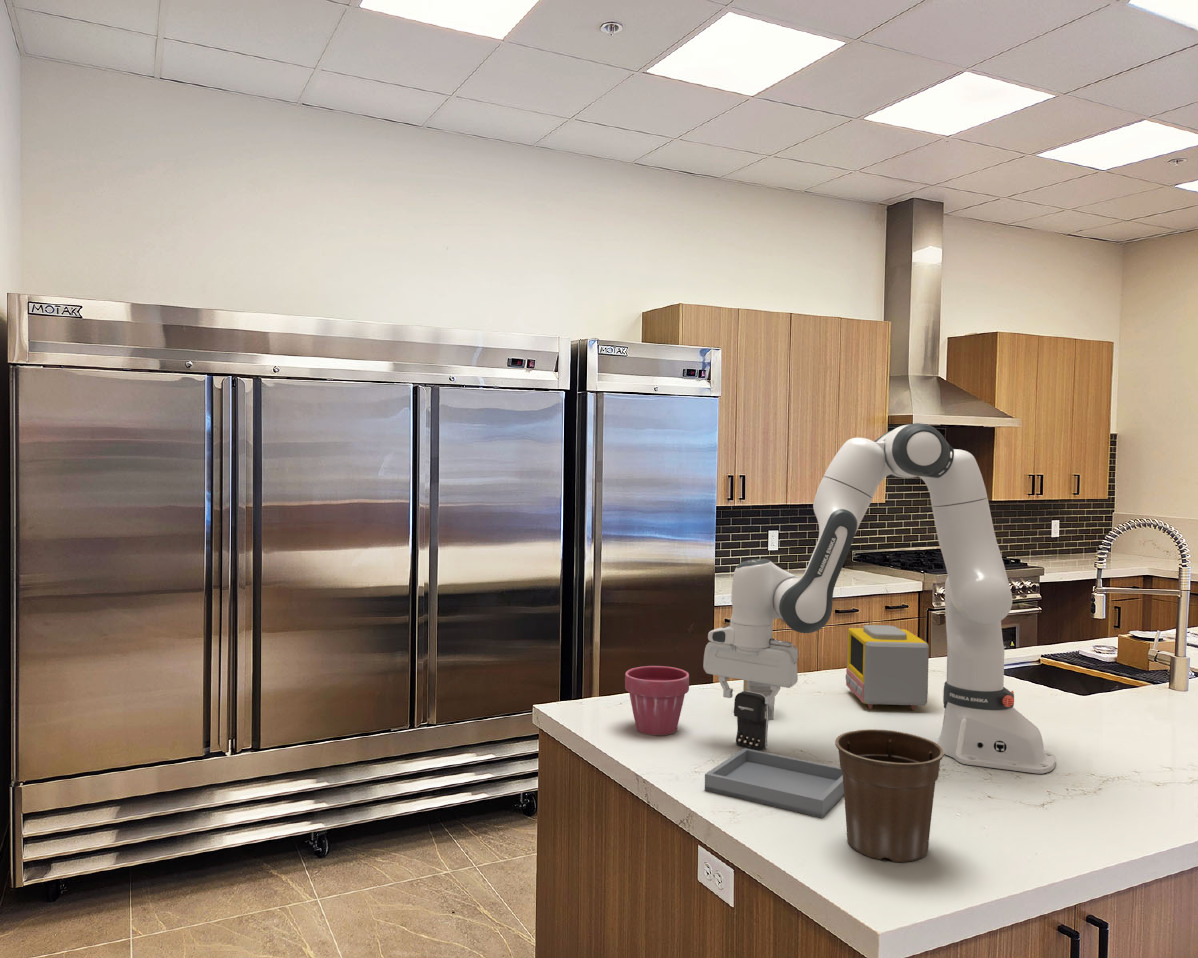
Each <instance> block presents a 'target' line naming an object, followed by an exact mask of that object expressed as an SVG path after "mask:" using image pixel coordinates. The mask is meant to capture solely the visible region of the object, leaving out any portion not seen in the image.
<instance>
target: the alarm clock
mask: <svg viewBox="0 0 1198 958" xmlns="http://www.w3.org/2000/svg"><path fill="white" fill-rule="evenodd" d="M929 646H930V645H929V644H928V642H927V641H924V640H923V639H922V638H920V637H918V636H917V635H916V634H914V633H912V632H911V631H910V630H907V629H906V628H905V629H904V628H898V627H897V626H895V625H885V624H884V625H883V624H882V625H881V624H865V625H864V626H863V627H849V628H848V629H847V645H846V647H847V648H846V669H845V670H846V672H845V673H846V674H845V686H847V688H848V689H849V690H850V691H851V692H852V693H853V694H854V695H855V696H856V697H857V698H858V699H859V701H860V702H861V703H862V704H866V705H867V707H868V709H870V710H871V709H873V706H874V705H892V706H893V705H894V706H896V705H897V706H910V709H911V710H912V711H916V707H917V706H926V705H927V704H928V699H929V698H928V696H929V693H928V692H929V690H928V689H929V656H930V655H929V654H930V653H929V650H930V647H929Z"/></svg>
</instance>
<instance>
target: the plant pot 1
mask: <svg viewBox="0 0 1198 958" xmlns="http://www.w3.org/2000/svg"><path fill="white" fill-rule="evenodd" d="M624 675H625V676H624V689H625V690H626V692H628V693H629V698H630V699H629V700H630V704H631V708H632V714H633V718H634V724H635V729H636V730H637V731H638V732H639V733H641V734H644V735H648V734H649V735H650V736H667V735H671V734H674V733H675V732H677V729H678V726H679V721H680V717H681V714H682V708H683V705H684V700H685V695H686V694H687V693H688V692H689V691H690V674H689V672H688V671H686V670H684V669H681V668H677V667H672V666H664V665H663V666H662V665H647V666H646V665H645V666H638V667H633V668H630V669H628V670H627V671H626V672H625V674H624Z"/></svg>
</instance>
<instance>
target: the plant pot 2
mask: <svg viewBox="0 0 1198 958" xmlns="http://www.w3.org/2000/svg"><path fill="white" fill-rule="evenodd" d="M834 741H835V742H834V743H835V744H834V745H835V747H836V749H837V750H838V756H839V757H838V758H839V767H840V768H841V770H842V773H843V786H844V796H843V798H844V810H845V825H846V838H847V839H846V840H847V842H848V844H849V845H850V847H851V848H852V849H854V850H855V851H856V852H858V853H860V854H862V855H864V856H866V857H869V858H871V859H874V860H878V861H879V860H883V859H884V858H885V859H888V860H891V861H892V862H893V863H899V862H900V863H906V862H913V861H917V860H920V859H922V858H924V857H925V856H926V855H927V853H928V851H929V845H930V834H931V833H930V832H931V823H932V815H933V804H934V798H935V797H934V796H935V787H936V781H937V780H938V779H939V774H940V765H941V760H942V759H943V758H944V755H945V754H944V751H943V749H942V748H941V747H940V746H939V745H938V744H937V743H938V742H935V741H932V740H931V739H929V738H925V737H922V736H919V735H915V734H912V733H908V732H904V731H903V732H901V731H897V730H890V729H889V730H888V729H877V728H876V729H857V730H852V731H847V732H844V733H841V734H840V735H838V736H837V737H836V738H835V740H834Z"/></svg>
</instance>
